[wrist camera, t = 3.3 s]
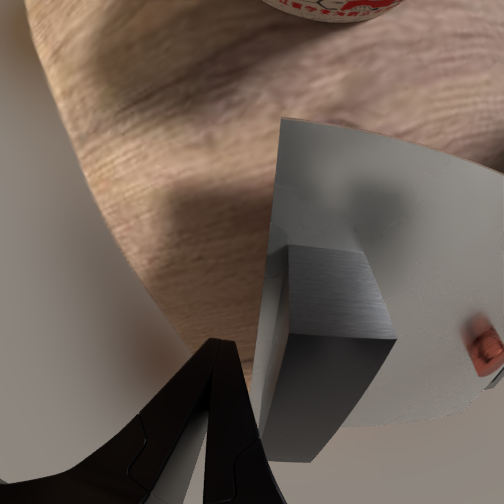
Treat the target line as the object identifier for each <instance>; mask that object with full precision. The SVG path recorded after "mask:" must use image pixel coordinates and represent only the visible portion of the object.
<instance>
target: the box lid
mask: <svg viewBox="0 0 504 504" xmlns="http://www.w3.org/2000/svg"><path fill="white" fill-rule="evenodd" d="M503 367H504V174H503V173H501V172H499V171H496V170H494V169H491V168H489V167H487V166H484V165H482V164H479V163H476V162H474V161H471V160H468V159H466V158H463V157H460V156H457V155H454V154H451V153H448V152H445V151H442V150H439V149H436V148H433V147H430V146H426V145H423V144H419V143H416V142H412V141H409V140H405V139H401V138H397V137H393V136H389V135H385V134H381V133H377V132H372V131H367V130H363V129H358V128H353V127H348V126H342V125H337V124H331V123H325V122H318V121H311V120H304V119H297V118H288V117H281V124H280V134H279V144H278V154H277V164H276V174H275V184H274V193H273V203H272V212H271V221H270V230H269V239H268V248H267V257H266V266H265V274H264V283H263V291H262V299H261V308H260V316H259V324H258V332H257V340H256V348H255V356H254V364H253V371H252V379H251V387H250V394H249V398H250V402H251V405H252V409H253V413H254V417H255V420H256V424H259V429H258V431H259V435H260V437H259V438H261V442H262V445H263V449H264V452H265V455H266V458H267V461H277V462H303V463H305V462H307V463H309V462H311V461H312V460H313V459H314V458H315V457H316V455H318V453H319V452H320V451H321V450H322V449H323V447H324V446H325V445H326V444H327V443H328V441H329V440H330V439H331V438H332V436H333V435H334V434H335V433H336V431H337V430H338V429H339V427H357V426H359V427H360V426H376V425H387V424H398V423H407V422H415V421H422V420H428V419H434V418H440V417H445V416H450V415H455V414H459V413H461V412H463V411H464V409H466V408H467V406H468V405H470V404H471V403H472V402H473V401H474V400H475V398H476V397H477V396H478V395H479V394H480V393H481V392H482V391H483V390H484V389H485V388H486V387H487V386H488V385H489V383H490V382H491V381H492V380H493V379H494V378H495V376H496V375H497V374H498V373H499V372H500V371H501V369H502V368H503Z"/></svg>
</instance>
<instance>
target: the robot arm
mask: <svg viewBox="0 0 504 504" xmlns="http://www.w3.org/2000/svg"><path fill="white" fill-rule="evenodd" d="M139 414H140V415H139ZM139 414H137V415H136V416H135V417H134V418H133V419H132V420H131V421H130V422H129V423H128V424H127V425H126V426H125V427H124V428H123V429H122V430H121V431H120V432H119V433H118V434H117V435H115V436H114V437H113V438H112V439H110V440H109V441H108V442H107V443H105V444H104V445H103V446H102V447H100V448H99V449H97V450H96V451H95V452H93V453H92V454H91V455H89V456H88V457H87V458H85V459H84V460H83V461H81V462H80V463H79V464H77V465H76V466H74V467H73V468H71V469H69V470H67V471H65V472H62V473H59V474H56V475H52V476H47V477H43V478H38V479H33V480H28V481H23V482H16V483H10V484H8V483H7V482H5V481H3V480H1V479H0V504H183V501H184V498H185V495H186V492H187V489H188V486H189V483H190V480H191V477H192V473H193V471H194V468H195V465H196V462H197V459H198V456H199V452H200V449H201V446H202V443H203V440H204V437H205V434H206V431H207V441H206V457H205V472H204V490H203V504H287V503H286V501H285V499H284V497H283V495H282V493H281V491H280V489H279V487H278V485H277V483H276V481H275V478H274V476H273V474H272V471H271V469H270V466H269V464H268V461H267V458H266V455H265V452H264V449H263V445H262V442H261V438H259V437H260V435H259V431H258V428H257V424H256V420H255V417H254V413H253V409H252V405H251V402H250V398H249V394H248V390H247V386H246V382H245V378H244V374H243V370H242V367H241V362H240V358H239V354H238V350H237V346H236V343H235V341H231V340H222V339H217V338H209V339H207V340H206V342H205V343H204V344H203V345H202V346H201V347H200V348H199V349H198V350H197V351H196V352H195V354H194V355H193V356H192V357H191V358H190V359H189V360H188V361H187V362H186V363H185V364H184V366H182V368H181V369H180V370H179V371H178V372H177V373H176V374H175V375H174V376H173V377H172V378H171V379H170V381H169V382H168V383H167V384H166V385H165V386H164V387H163V388H162V389H161V390H160V391H159V392H158V393H157V394H156V395H155V396H154V397H153V398H152V399H151V401H150V402H149V403H148V404H147V405H146V406H145V407H144V408H143V409H142V410H141V411H140V412H139Z"/></svg>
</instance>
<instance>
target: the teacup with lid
mask: <svg viewBox="0 0 504 504" xmlns="http://www.w3.org/2000/svg"><path fill="white" fill-rule="evenodd" d="M262 1H263V2H265V3H267V4H269V5H271V6H273V7H275V8H277V9H279V10H281V11H284V12H287V13H289V14H292V15H295V16H299V17H302V18H307V19H311V20H317V21H324V22H338V23H344V22H358V21H363V20H368V19H371V18H375V17H377V16H380V15H382V14H384V13H386V12H388V11H390V10H391V9H393V8H394V7H396V6H397V5H399V4H400V3H402V2H403V1H405V0H262Z"/></svg>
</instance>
